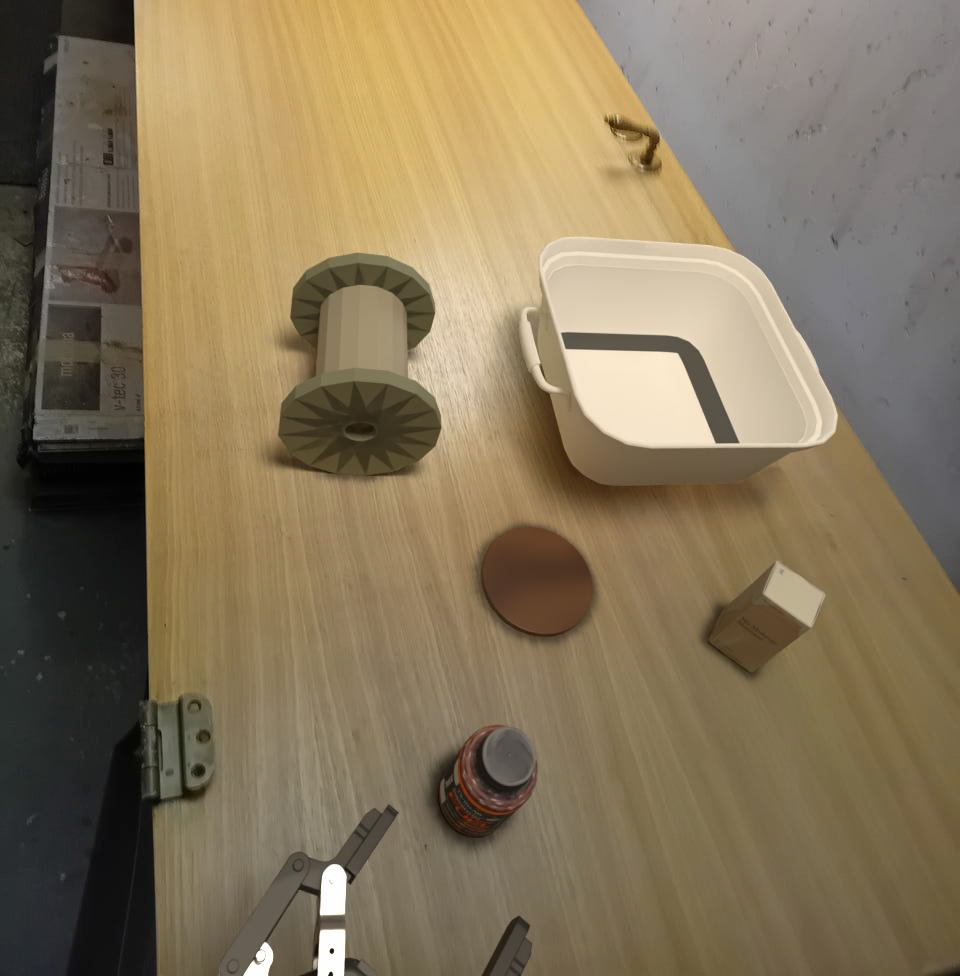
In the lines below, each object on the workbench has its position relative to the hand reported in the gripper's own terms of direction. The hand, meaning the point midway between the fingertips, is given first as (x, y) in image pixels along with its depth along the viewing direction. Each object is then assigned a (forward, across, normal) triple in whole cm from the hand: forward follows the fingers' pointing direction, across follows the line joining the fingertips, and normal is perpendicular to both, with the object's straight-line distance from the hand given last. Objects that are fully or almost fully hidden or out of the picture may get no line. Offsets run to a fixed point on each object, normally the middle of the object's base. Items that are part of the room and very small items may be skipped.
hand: (454, 865), depth 45 cm
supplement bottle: (+11, 0, +22) cm, 25 cm away
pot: (+56, +7, +22) cm, 61 cm away
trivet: (+30, +5, +22) cm, 38 cm away
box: (+38, -14, +22) cm, 46 cm away
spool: (+34, +31, +22) cm, 52 cm away
